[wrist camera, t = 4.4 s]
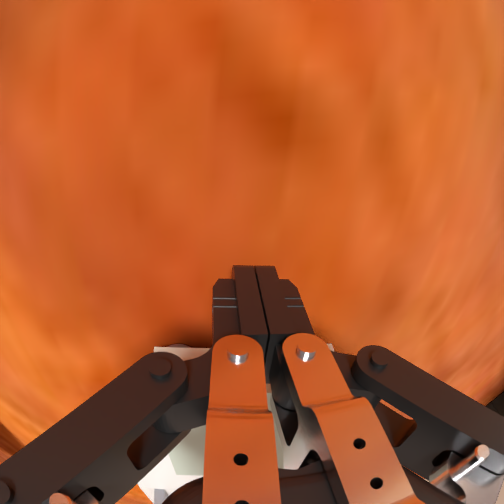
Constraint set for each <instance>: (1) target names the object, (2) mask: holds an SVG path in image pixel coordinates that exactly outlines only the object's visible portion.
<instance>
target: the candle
mask: <svg viewBox="0 0 504 504" xmlns="http://www.w3.org/2000/svg"><path fill="white" fill-rule="evenodd" d="M486 407H487V408H489V409H491V410H492V411H494V412H496V413H497V414H499V415H501V416H503V417H504V392H503V393H502V394H500V395H499V396H498V397H497V398H496V399H494V400H493V401H492V402H490V403H489V404H488V405H487V406H486Z"/></svg>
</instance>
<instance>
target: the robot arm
mask: <svg viewBox="0 0 504 504" xmlns="http://www.w3.org/2000/svg"><path fill="white" fill-rule="evenodd" d="M303 306H304V305H303V302H302V300H301V297H300V294H299V292H298V289H297V287H296V286H295V285H294V284H292V283H291V282H290V281H289V280H288V279H279V278H278V275H277V272H276V269H275V266H254V267H253V266H243V265H233V268H232V279H218V281H217V282H216V284H215V285H214V286H213V306H212V330H213V345H212V347H211V348H210V349H209V350H208V351H207V352H206V353H205V354H203V355H201V356H199V357H197V358H193V359H189V360H185V361H183V360H182V359H181V358H180V357H179V356H177V355H175V354H173V353H169V352H153V353H150V354H148V355H146V356H144V357H143V358H141V359H140V360H139V361H137V362H136V363H135V364H133V365H132V366H131V367H130V368H128V369H127V370H126V371H124V372H123V373H122V374H120V375H119V376H118V377H117V378H115V379H114V380H113V381H111V382H110V383H109V384H107V385H106V386H105V387H104V388H102V389H101V390H100V391H98V392H97V393H96V394H94V395H93V396H92V397H90V398H89V399H88V400H86V401H85V402H84V403H82V404H81V405H80V406H79V407H77V408H76V409H75V410H73V411H72V412H71V413H69V414H68V415H67V416H65V417H64V418H63V419H61V420H60V421H59V422H57V423H56V424H55V425H53V426H52V427H51V428H49V429H48V430H47V431H45V432H44V433H43V434H41V435H40V436H39V437H37V438H36V439H34V440H33V441H32V442H30V443H29V444H28V445H26V446H25V447H24V448H22V449H21V450H20V451H18V452H17V453H15V454H14V455H13V456H11V457H10V458H9V459H7V460H6V461H5V462H3V463H2V464H0V504H115V503H116V502H117V501H118V500H119V499H121V498H122V497H123V496H124V495H125V494H126V493H127V492H128V491H130V490H131V489H132V488H133V487H134V486H135V485H136V484H137V483H138V482H139V481H140V480H142V479H143V478H144V477H145V476H146V475H147V474H148V473H149V472H150V471H151V470H152V469H153V468H154V467H155V466H156V465H157V464H158V463H159V462H160V461H162V460H163V459H164V458H165V457H166V456H167V455H168V454H169V453H170V452H171V451H172V450H173V449H174V448H175V447H176V446H177V445H178V444H179V443H180V442H181V441H182V440H183V439H184V438H185V437H186V436H187V435H188V434H189V432H190V431H191V429H193V428H197V427H200V426H204V425H206V435H205V453H204V474H203V477H201V478H198V479H195V480H192V481H190V482H188V483H186V484H184V485H183V486H181V487H179V488H178V489H176V490H175V491H174V492H173V493H171V494H170V495H169V496H168V497H167V498H166V499H165V500H164V501H163V503H162V504H495V503H496V501H497V498H498V495H499V492H500V489H501V487H502V483H503V480H504V417H503V416H501V415H499V414H497V413H496V412H494V411H492V410H491V409H489V408H487V407H485V406H484V405H482V404H480V403H478V402H477V401H475V400H473V399H471V398H470V397H468V396H466V395H465V394H463V393H461V392H459V391H458V390H456V389H454V388H452V387H451V386H449V385H447V384H446V383H444V382H442V381H440V380H439V379H437V378H435V377H434V376H432V375H430V374H429V373H427V372H425V371H423V370H422V369H420V368H418V367H417V366H415V365H413V364H412V363H410V362H408V361H407V360H405V359H403V358H401V357H400V356H398V355H396V354H395V353H393V352H391V351H390V350H388V349H386V348H384V347H381V346H376V345H370V346H366V347H364V348H362V349H361V350H360V351H359V352H358V354H357V356H354V355H348V354H342V353H337V352H334V351H331V350H330V349H329V347H328V345H327V344H326V343H325V342H324V341H323V340H322V339H321V338H319V337H317V336H315V334H314V332H313V329H312V326H311V324H310V321H309V318H308V316H307V313H306V310H305V308H304V307H303ZM266 384H270V385H271V391H272V393H271V397H270V406H271V409H272V412H271V411H270V410H268V404H267V392H266ZM381 399H382V400H384V401H386V402H387V403H389V404H390V405H392V406H394V407H395V408H397V409H399V410H400V411H402V412H403V413H405V414H407V415H408V416H410V417H412V418H413V420H409V419H406V418H404V417H403V416H401V415H400V414H398V413H396V412H395V411H393V410H391V409H390V408H388V407H387V406H385V405H384V404H382V403H380V400H381ZM272 413H273V414H272ZM273 417H274V420H275V424H276V427H277V431H278V434H279V438H280V441H281V445H282V448H283V455H284V458H283V465H284V469H282V468H278V463H277V452H276V441H275V430H274V420H273ZM402 465H403V466H402ZM404 466H405V467H406V468H405V467H404ZM407 468H408V469H410V470H411V471H413V472H415V473H416V474H418V475H420V476H422V477H423V478H425V479H427V480H429V482H427V481H426V480H424V479H423V478H421V477H419V476H418V475H416V474H415V473H413V472H411V471H410V470H408V469H407Z"/></svg>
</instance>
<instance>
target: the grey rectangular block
mask: <svg viewBox="0 0 504 504" xmlns="http://www.w3.org/2000/svg"><path fill="white" fill-rule="evenodd" d="M327 345H328V347H329V349H330V350H331V351H334V348H333V346H332V344H331V343H330V344H327ZM209 349H210V348H191V347H189V346H187V345H184V344H173V345H170V346H168V347H154V352H169V353H173V354H175V355H177V356H179V357H180V358H181V359H182V360H183V361H185V360H189V359H193V358H197V357H199V356H201V355H203V354H205V353H206V352H207V351H208V350H209ZM334 352H335V351H334ZM266 392H267V404H268V410H270V411H271V412H272V409H271V406H270V397H271V393H272V391H271V385H270V384H266ZM272 414H273V413H272ZM273 420H274V417H273ZM274 430H275V441H276V452H277V463H278V468H282V469H284V465H283V458H284V455H283V448H282V445H281V441H280V438H279V434H278V431H277V427H276V424H275V420H274ZM205 435H206V425H204V426H200V427H197V428H193V429H191V431H190V432H189V434H188V435H187V436H186V437H185V438H184V439H183V440H182V441H181V442H180V443H179V444H178V445H177V446H176V447H175V448H174V449H173V450H172V451H171V452H170V453H169V457H170V460H171V462H172V465H173V467H174V470H175V472H176V475H197V476H203V474H204V453H205Z"/></svg>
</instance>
